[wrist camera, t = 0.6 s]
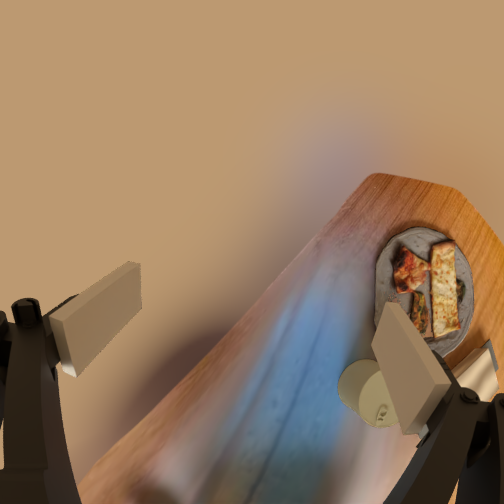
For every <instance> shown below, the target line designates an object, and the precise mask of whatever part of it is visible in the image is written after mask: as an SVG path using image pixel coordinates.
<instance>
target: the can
mask: <svg viewBox="0 0 504 504" xmlns="http://www.w3.org/2000/svg"><path fill="white" fill-rule="evenodd" d="M338 394H339V397H340V399H341V401H342V402H343V403H344V404H345V405H346V406H348V407H349V408H351V409H352V410H354V411H355V412H356V413H357V414H358V415H359V416H360V417H362V418H363V420H364V421H365V422H366V423H368V424H369V425H371V426H374V427H378V428H384V427H389V426H392V425H394V424H396V423H398V422H399V420H398V417H397V414H396V411H395V408H394V406H393V403H392V400H391V397H390V394H389V391H388V389H387V386H386V383H385V380H384V378H383V375H382V372H381V370H380V367H379V364H378V362H376V361H374V360H371V359H362V360H358V361H356V362H354V363H352V364H350V365H349V366H348V367H347V368H346V369H345V370H344V371H343V373H342V375H341V376H340V379H339V382H338Z"/></svg>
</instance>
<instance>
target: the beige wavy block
mask: <svg viewBox="0 0 504 504" xmlns="http://www.w3.org/2000/svg"><path fill="white" fill-rule="evenodd" d="M451 372H452V373H453V375H454V377H455V378H456V380H457V381H458V383H459V385H460V386H461V387H466V388H470V389H472V390H473V391H475V392H476V393H477V394H478V395H479V397H480V401H485V402H487V401H488V400H489V399H490V398H491V397H492V396H493V395H494V394H495V393H496V392H497V391H498V390H499V385H498V381H497V377H496V373H495V369H494V366H493V362H492V359H491V355H490V352H489V349H488V348H475V349H474V350H473V351H472V352H471V353H470V354H469V355H468V356H467V357H465V358H464V359H463V360H462V361H461V362H460V363H459V364H458V365H457V366H456V367H454V368H453V369H452V370H451Z"/></svg>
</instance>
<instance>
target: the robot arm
mask: <svg viewBox="0 0 504 504" xmlns="http://www.w3.org/2000/svg"><path fill="white" fill-rule="evenodd" d="M11 308H12V312H13V316H14V320H15V323H10V322H8V321H7V318H6V314H5V312H3V311H0V429H1V425H2V421H4V422H3V448H4V468H3V469H2V470H0V504H82V503H81V500H80V497H79V493H78V490H77V487H76V483H75V480H74V476H73V472H72V468H71V463H70V459H69V455H68V450H67V445H66V439H65V434H64V428H63V421H62V414H61V407H60V398H59V387H58V375H57V369H56V364H58V363H59V362H60V361H61V365H62V368H63V370H64V372H66V373H68V374H70V375H72V376H74V377H78V376H79V375H80V374H81V373H82V371H83V370H84V369H85V368H86V367H87V366H88V365H89V364H90V363H91V362H92V360H93V359H94V358H95V357H96V356H97V355H98V354H99V353H100V352H101V351H102V350H103V349H104V348H105V347H106V345H107V344H108V343H109V342H110V341H111V340H112V339H113V338H114V337H115V336H116V335H117V334H118V333H119V332H120V330H121V329H122V328H123V327H124V326H125V325H126V324H127V323H128V322H129V321H130V320H131V319H132V318H133V317H134V316H135V315H136V314H137V313H138V312H139V311H140V310H141V309H142V302H141V275H140V263H135V262H130V261H128V262H127V263H125V264H123V265H122V266H120V267H119V268H117V269H116V270H115V271H113V272H111V273H110V274H108V275H107V276H105V277H104V278H102V279H101V280H99V281H98V282H96V283H95V284H93V285H92V286H91V287H89V288H88V289H86V290H85V291H83V292H82V293H80V294H77V295H74V296H71V297H69V298H68V299H66V300H65V301H64V302H63V303H61V304H59V305H58V307H55V308H54V309H52V310H51V311H50V312H48V313H47V314H45V315H44V316H42V315H41V310H40V306H39V302H38V300H36V299H33V298H23V299H20V300H18V301H16V302H14V303H13V304H12V306H11ZM371 347H372V349H373V352H374V354H375V357H376V359H377V362H378V364H379V367H380V370H381V372H382V375H383V378H384V380H385V383H386V386H387V389H388V391H389V394H390V397H391V400H392V403H393V406H394V408H395V411H396V414H397V417H398V420H399V423H400V426H401V429H402V433H403V435H409V434H419V432H420V431H421V430H422V428H423V427H424V426H425V424H426V425H427V427H428V432H427V433H426V434H425V436H424V437H423V438H422V440H421V441H420V442H419V444H418V445H417V446H416V447H417V448H418V449H417V451H416V453H415V454H414V456H413V458H412V460H411V461H410V463H409V465H408V466H407V468H406V470H405V471H404V473H403V474H402V476H401V478H400V479H399V481H398V482H397V484H396V485H395V487H394V488H393V490H392V491H391V493H390V494H389V496H388V497H387V498H386V500H385V501H384V503H383V504H448V502H449V500H450V498H451V496H452V493H453V491H454V489H455V486H456V484H457V481H458V479H459V481H458V489H457V495H456V501H455V504H504V393H499V394H496V396H495V397H494V398H493V400H492V401H491V402H485V401H480V397H479V395H478V394H477V393H476V392H475V391H473V390H472V389H470V388H466V387H461V386H460V385H459V383H458V381H457V380H456V378H455V377H454V375H453V373H452V372H451V370H449V367H448V366H447V365H446V363H445V361H444V360H443V358H442V357H441V356H440V355H439V354H438V353H437V352H436V351H434V350H430V348H429V347H428V345H427V344H426V342H425V341H424V339H423V338H422V336H421V335H420V333H419V332H418V330H417V329H416V327H415V326H414V324H413V323H412V322H411V320H410V319H409V317H408V316H407V314H406V313H405V312H404V310H403V309H402V307H401V306H400V305H399V303H394V302H386V303H385V306H384V309H383V312H382V315H381V318H380V321H379V324H378V327H377V330H376V333H375V335H374V338H373V341H372V344H371ZM3 418H4V419H3ZM489 444H490V445H489Z"/></svg>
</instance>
